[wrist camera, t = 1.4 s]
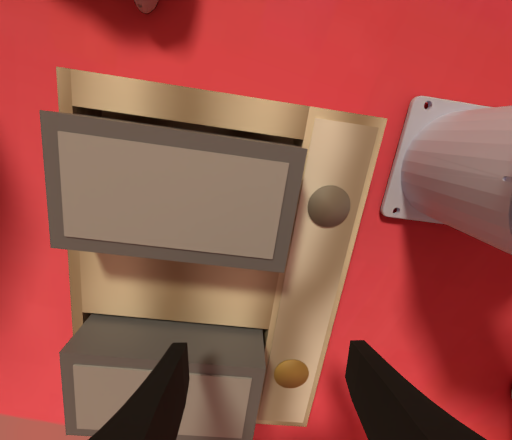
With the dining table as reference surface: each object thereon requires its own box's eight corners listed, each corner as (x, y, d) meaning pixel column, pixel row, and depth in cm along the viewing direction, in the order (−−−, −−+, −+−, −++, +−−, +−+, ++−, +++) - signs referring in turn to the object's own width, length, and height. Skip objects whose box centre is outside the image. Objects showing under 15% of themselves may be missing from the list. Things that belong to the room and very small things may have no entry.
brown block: (262, 327, 19) (266, 370, 16) (250, 394, 21) (251, 447, 17) (93, 311, 18) (58, 353, 15) (96, 383, 20) (65, 436, 16)
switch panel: (357, 121, 18) (389, 118, 14) (296, 381, 25) (306, 429, 21) (98, 80, 17) (53, 65, 13) (104, 366, 24) (76, 414, 20)
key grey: (294, 145, 15) (308, 149, 12) (276, 245, 17) (284, 273, 14) (86, 115, 15) (37, 110, 11) (90, 223, 16) (49, 248, 13)
